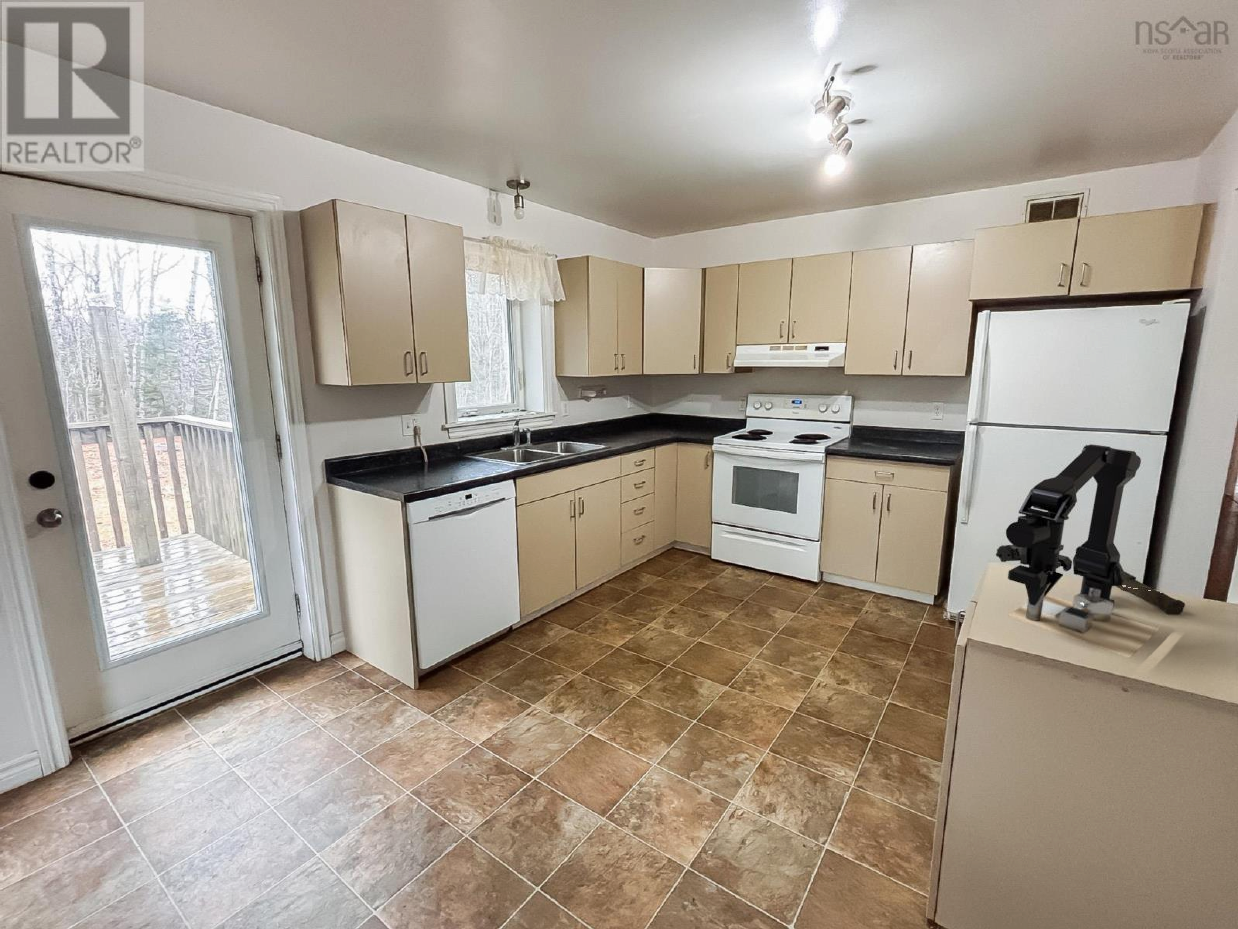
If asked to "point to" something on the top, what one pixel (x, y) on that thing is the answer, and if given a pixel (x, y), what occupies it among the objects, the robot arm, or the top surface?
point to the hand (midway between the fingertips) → (1035, 602)
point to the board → (1097, 630)
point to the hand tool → (1152, 595)
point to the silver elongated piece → (1086, 611)
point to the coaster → (1050, 608)
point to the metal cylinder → (1035, 610)
